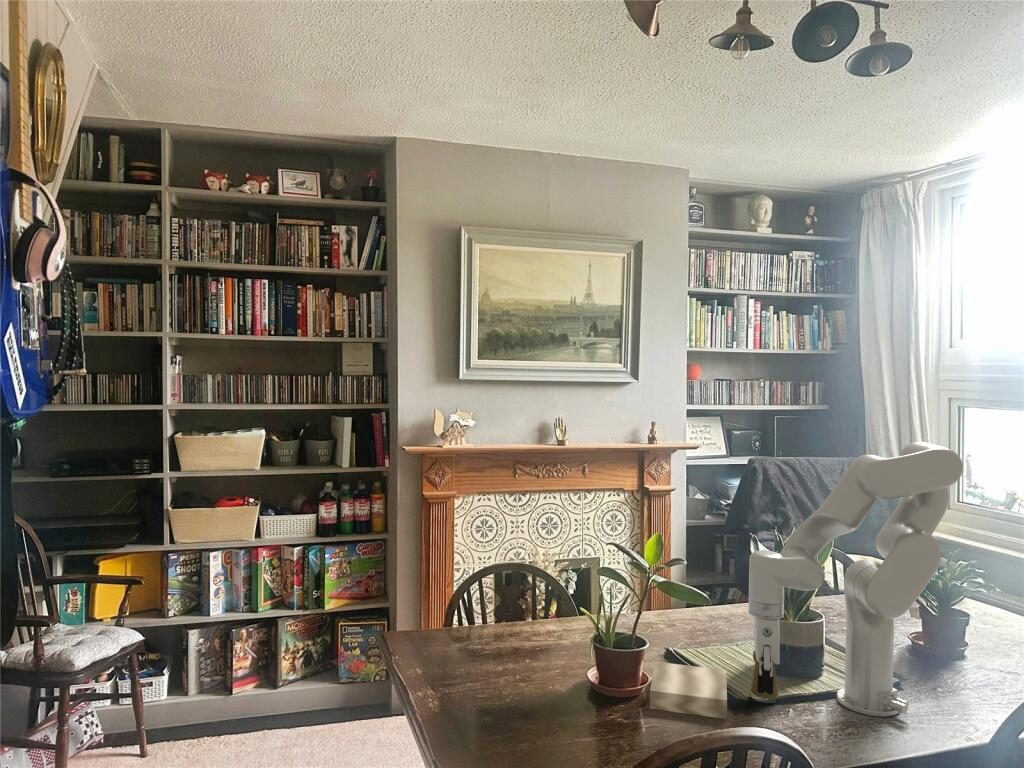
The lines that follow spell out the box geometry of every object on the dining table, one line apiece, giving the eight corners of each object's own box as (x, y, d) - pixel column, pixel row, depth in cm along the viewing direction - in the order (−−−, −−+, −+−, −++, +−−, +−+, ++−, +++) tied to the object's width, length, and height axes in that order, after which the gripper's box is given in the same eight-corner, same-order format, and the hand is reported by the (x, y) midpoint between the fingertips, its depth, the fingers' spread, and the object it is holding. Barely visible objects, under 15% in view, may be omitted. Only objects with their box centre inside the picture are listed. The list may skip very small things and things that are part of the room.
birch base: (725, 687, 169) (726, 670, 169) (726, 719, 153) (727, 700, 153) (655, 678, 173) (655, 661, 173) (649, 708, 158) (649, 690, 157)
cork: (780, 705, 160) (781, 655, 160) (751, 702, 161) (752, 653, 161) (776, 693, 166) (777, 645, 166) (748, 690, 167) (749, 643, 167)
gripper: (787, 621, 154) (785, 707, 154) (780, 597, 170) (779, 675, 170) (750, 618, 156) (748, 702, 156) (747, 594, 172) (745, 671, 172)
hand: (764, 687), depth 163 cm, fingers closed on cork, 4 cm apart
